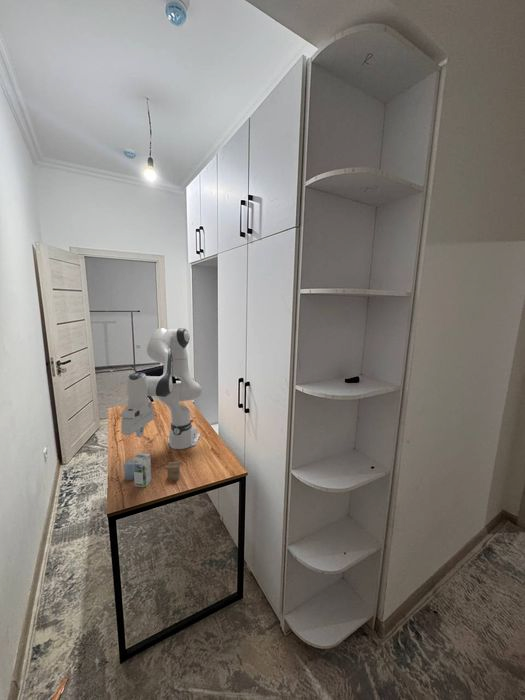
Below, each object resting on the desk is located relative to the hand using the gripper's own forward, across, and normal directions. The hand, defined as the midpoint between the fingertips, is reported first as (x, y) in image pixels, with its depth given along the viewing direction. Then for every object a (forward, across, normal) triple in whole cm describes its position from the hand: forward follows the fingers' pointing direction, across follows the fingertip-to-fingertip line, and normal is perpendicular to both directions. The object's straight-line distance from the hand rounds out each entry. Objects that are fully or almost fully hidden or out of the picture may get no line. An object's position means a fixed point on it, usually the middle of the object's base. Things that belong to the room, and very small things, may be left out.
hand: (140, 435), depth 136 cm
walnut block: (+25, -8, +12) cm, 29 cm away
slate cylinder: (+25, -3, -9) cm, 27 cm away
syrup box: (+25, -1, 0) cm, 25 cm away
